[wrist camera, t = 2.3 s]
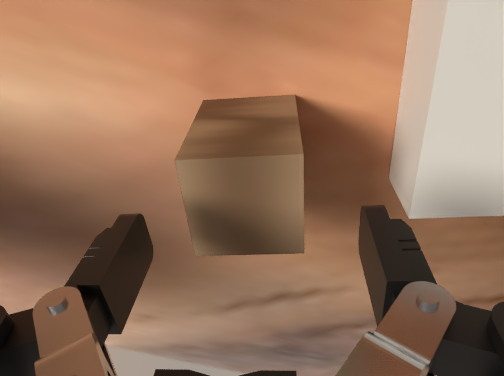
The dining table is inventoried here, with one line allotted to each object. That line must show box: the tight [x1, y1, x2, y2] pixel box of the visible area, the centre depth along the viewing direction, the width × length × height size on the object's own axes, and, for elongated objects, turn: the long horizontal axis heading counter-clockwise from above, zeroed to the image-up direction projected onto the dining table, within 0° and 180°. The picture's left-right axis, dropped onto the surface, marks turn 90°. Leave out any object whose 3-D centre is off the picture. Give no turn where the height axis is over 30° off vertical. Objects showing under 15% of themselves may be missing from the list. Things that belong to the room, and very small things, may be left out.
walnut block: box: [175, 95, 304, 256], centre depth 19 cm, size 5×5×7 cm
